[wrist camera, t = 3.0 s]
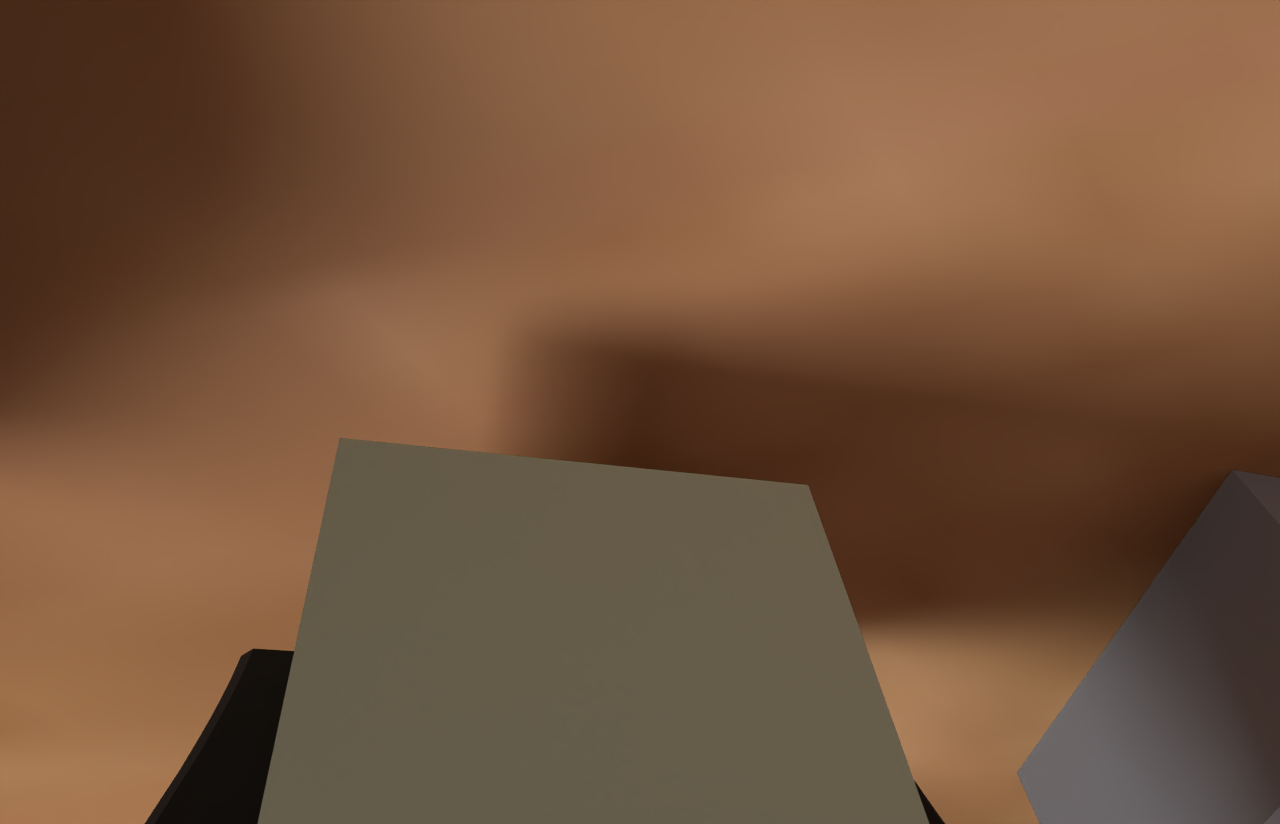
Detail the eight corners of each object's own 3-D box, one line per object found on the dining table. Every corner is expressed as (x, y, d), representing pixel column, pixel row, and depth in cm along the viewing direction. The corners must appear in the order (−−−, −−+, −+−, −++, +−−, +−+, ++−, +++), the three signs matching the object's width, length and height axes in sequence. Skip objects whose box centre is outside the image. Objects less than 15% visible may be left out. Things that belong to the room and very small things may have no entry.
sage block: (702, 772, 15) (778, 1204, 11) (321, 755, 14) (242, 1223, 10) (808, 484, 12) (963, 918, 8) (339, 438, 11) (239, 904, 7)
